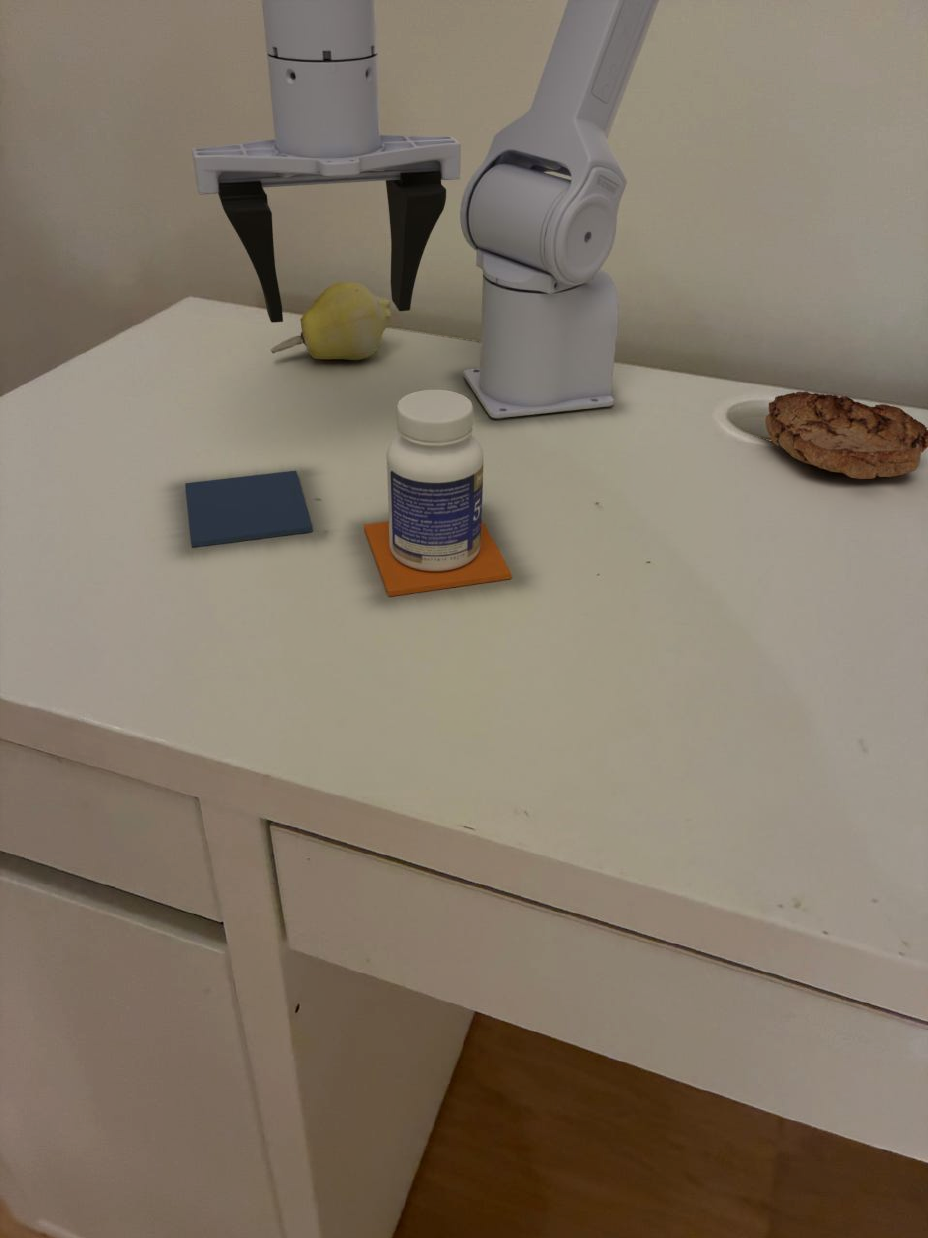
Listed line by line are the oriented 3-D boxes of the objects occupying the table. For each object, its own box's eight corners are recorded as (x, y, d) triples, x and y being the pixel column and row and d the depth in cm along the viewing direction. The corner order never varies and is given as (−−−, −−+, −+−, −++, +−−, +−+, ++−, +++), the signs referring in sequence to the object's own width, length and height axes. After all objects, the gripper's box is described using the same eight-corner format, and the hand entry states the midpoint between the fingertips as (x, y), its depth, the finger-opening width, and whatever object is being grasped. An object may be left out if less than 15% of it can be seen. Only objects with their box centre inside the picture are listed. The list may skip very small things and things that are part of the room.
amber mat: (476, 515, 61) (477, 509, 60) (511, 579, 55) (511, 573, 55) (364, 529, 59) (363, 524, 59) (388, 597, 54) (388, 591, 53)
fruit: (263, 350, 80) (376, 315, 83) (291, 397, 77) (406, 359, 80) (252, 291, 76) (372, 256, 78) (281, 339, 73) (404, 300, 75)
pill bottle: (492, 566, 55) (499, 421, 50) (401, 580, 54) (398, 433, 49) (465, 518, 59) (468, 379, 54) (380, 530, 58) (374, 389, 53)
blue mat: (296, 475, 64) (296, 470, 64) (312, 532, 59) (312, 526, 58) (185, 488, 63) (184, 482, 62) (191, 547, 57) (190, 541, 57)
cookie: (736, 402, 67) (730, 442, 69) (857, 467, 60) (846, 509, 62) (841, 372, 71) (832, 410, 73) (966, 428, 64) (953, 469, 66)
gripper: (184, 70, 47) (222, 347, 55) (478, 61, 50) (473, 323, 58) (175, 48, 52) (212, 303, 60) (442, 41, 55) (441, 284, 64)
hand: (339, 310), depth 60 cm, fingers open, 7 cm apart
